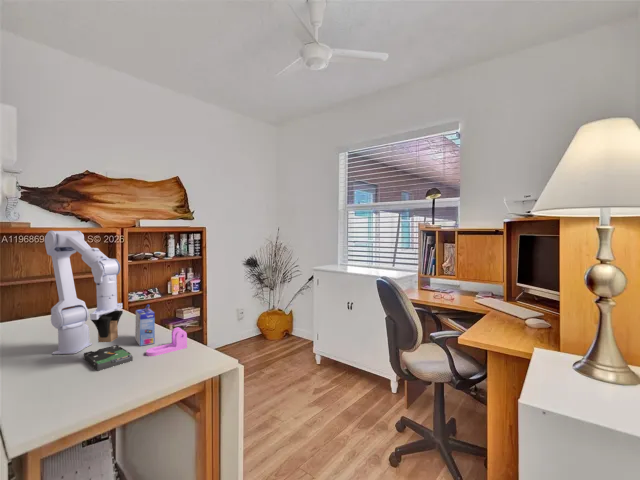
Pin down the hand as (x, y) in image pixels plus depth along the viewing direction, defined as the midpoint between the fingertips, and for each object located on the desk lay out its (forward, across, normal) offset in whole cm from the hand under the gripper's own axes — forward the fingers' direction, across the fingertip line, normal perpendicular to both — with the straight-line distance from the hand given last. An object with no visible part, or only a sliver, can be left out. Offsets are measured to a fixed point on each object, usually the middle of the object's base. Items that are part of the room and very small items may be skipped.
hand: (108, 335), depth 106 cm
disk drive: (+9, 0, 0) cm, 9 cm away
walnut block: (+2, 0, 0) cm, 2 cm away
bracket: (+9, +7, -16) cm, 20 cm away
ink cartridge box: (+9, +17, -4) cm, 20 cm away
